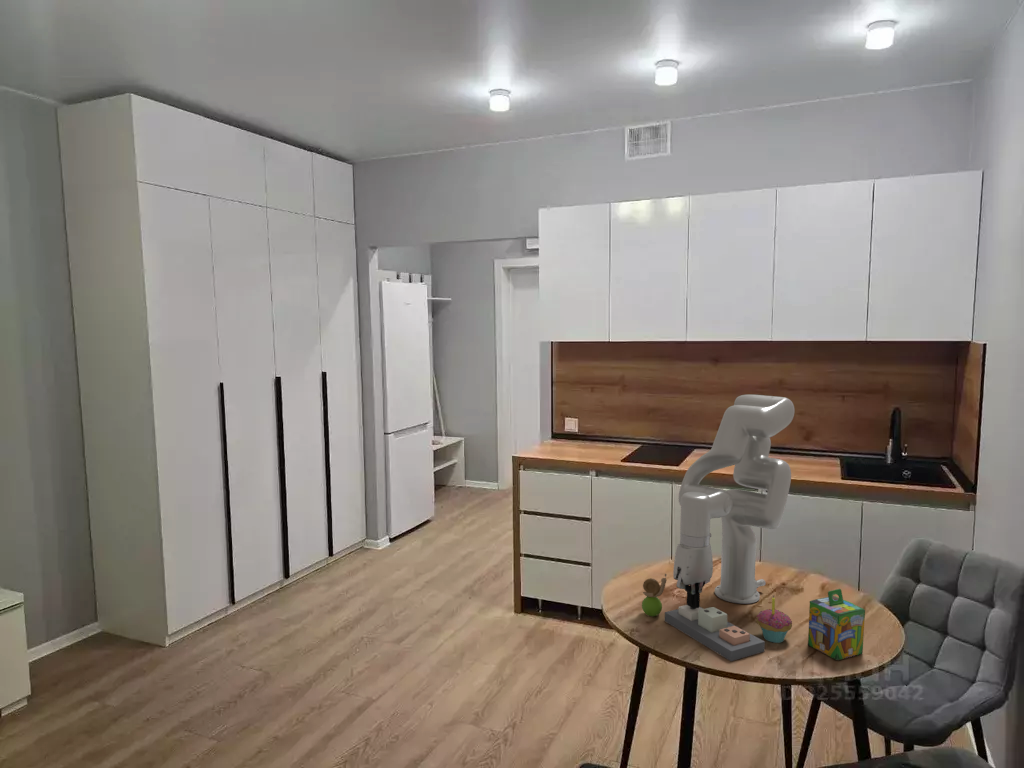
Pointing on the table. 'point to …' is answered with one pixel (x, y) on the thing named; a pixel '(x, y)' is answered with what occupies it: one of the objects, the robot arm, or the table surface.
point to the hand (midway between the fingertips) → (693, 606)
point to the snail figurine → (653, 596)
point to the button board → (714, 637)
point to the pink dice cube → (734, 635)
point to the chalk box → (836, 626)
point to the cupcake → (774, 624)
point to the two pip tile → (712, 619)
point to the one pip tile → (689, 612)
